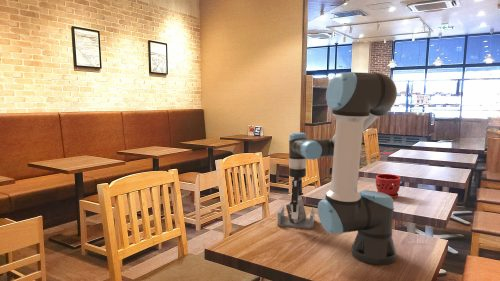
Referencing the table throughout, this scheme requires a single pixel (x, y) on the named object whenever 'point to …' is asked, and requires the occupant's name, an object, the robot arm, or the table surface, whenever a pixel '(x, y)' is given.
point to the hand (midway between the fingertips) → (296, 213)
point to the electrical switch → (300, 212)
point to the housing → (304, 223)
